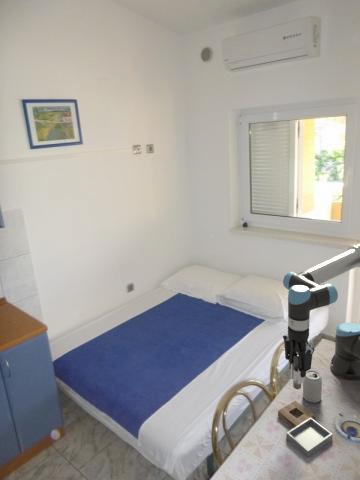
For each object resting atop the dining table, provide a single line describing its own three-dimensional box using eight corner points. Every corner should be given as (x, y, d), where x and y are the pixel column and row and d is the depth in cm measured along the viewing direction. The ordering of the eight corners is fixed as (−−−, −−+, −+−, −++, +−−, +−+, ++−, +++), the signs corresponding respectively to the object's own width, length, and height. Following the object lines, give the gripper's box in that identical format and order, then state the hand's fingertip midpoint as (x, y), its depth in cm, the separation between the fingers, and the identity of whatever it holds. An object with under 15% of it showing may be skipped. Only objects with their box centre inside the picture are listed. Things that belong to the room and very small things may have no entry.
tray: (310, 422, 147) (310, 417, 146) (332, 439, 139) (332, 434, 138) (286, 438, 141) (286, 432, 140) (307, 456, 132) (308, 451, 132)
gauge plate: (295, 405, 157) (295, 400, 156) (314, 419, 148) (314, 414, 148) (278, 415, 152) (278, 410, 151) (297, 431, 144) (297, 426, 143)
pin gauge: (296, 383, 147) (297, 352, 143) (302, 387, 144) (303, 356, 140) (291, 386, 145) (291, 355, 141) (297, 390, 143) (297, 359, 139)
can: (322, 404, 156) (323, 380, 152) (303, 403, 157) (304, 379, 154) (319, 392, 163) (320, 369, 159) (301, 391, 164) (302, 368, 161)
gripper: (275, 320, 142) (275, 373, 149) (308, 339, 129) (306, 395, 136) (289, 314, 146) (288, 366, 152) (323, 332, 132) (321, 387, 139)
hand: (297, 379), depth 144 cm, fingers closed on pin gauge, 3 cm apart
